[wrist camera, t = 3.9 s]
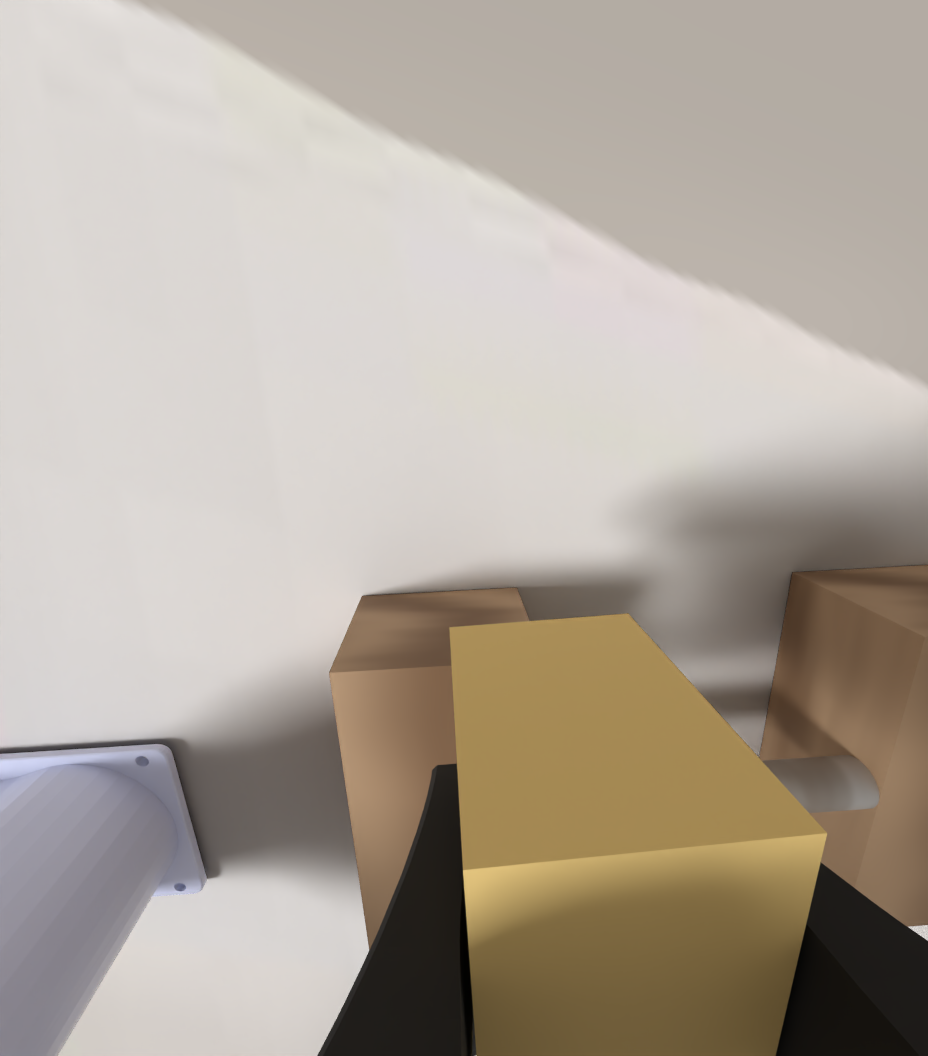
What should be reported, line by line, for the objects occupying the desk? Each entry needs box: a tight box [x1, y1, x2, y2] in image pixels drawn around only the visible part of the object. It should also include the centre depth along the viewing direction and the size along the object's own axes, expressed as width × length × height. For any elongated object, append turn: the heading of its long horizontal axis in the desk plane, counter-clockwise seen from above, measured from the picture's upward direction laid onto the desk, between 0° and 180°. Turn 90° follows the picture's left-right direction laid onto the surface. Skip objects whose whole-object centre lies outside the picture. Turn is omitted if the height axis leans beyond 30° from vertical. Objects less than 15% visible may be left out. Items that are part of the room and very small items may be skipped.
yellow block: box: [449, 613, 827, 1056], centre depth 8 cm, size 4×6×5 cm, turn 3°
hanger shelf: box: [329, 565, 928, 950], centre depth 16 cm, size 23×12×5 cm, turn 92°
